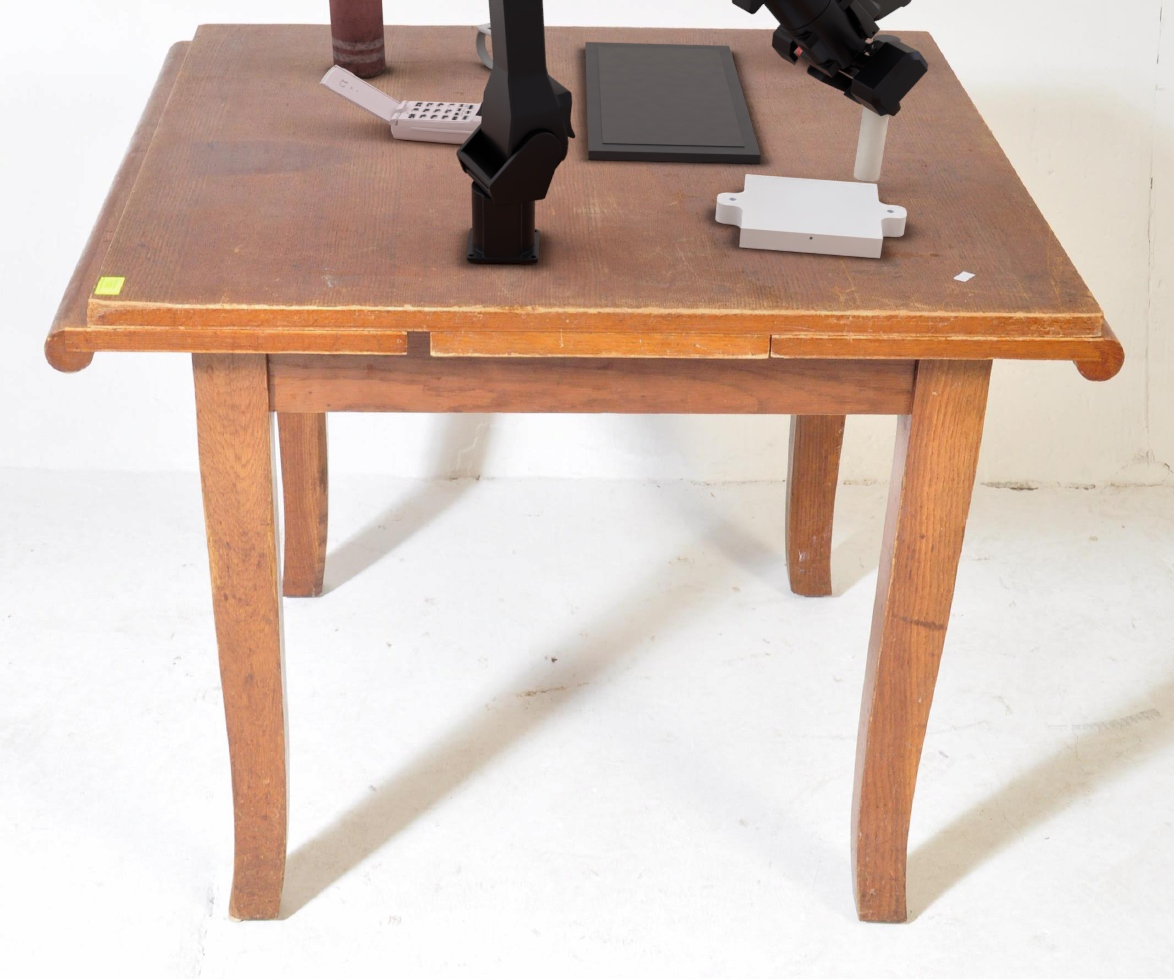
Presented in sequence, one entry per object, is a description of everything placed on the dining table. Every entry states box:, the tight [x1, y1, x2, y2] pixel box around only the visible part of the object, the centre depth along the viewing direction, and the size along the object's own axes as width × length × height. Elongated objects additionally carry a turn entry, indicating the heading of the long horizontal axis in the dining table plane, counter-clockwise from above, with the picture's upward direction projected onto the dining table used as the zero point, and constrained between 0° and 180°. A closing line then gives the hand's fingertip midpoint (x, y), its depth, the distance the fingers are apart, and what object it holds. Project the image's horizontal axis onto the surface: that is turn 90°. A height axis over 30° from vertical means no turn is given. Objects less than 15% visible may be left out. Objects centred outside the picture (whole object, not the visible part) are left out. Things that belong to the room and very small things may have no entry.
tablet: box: [584, 41, 762, 165], centre depth 165 cm, size 36×18×1 cm, turn 1°
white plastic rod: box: [853, 34, 902, 183], centre depth 141 cm, size 3×3×14 cm
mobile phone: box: [318, 65, 483, 145], centre depth 153 cm, size 6×6×25 cm
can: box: [328, 0, 387, 79], centre depth 167 cm, size 6×6×14 cm
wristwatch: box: [475, 22, 493, 71], centre depth 171 cm, size 6×3×5 cm, turn 39°
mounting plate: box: [715, 173, 908, 259], centre depth 138 cm, size 18×13×2 cm
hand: (888, 107), depth 141 cm, fingers closed on white plastic rod, 2 cm apart
